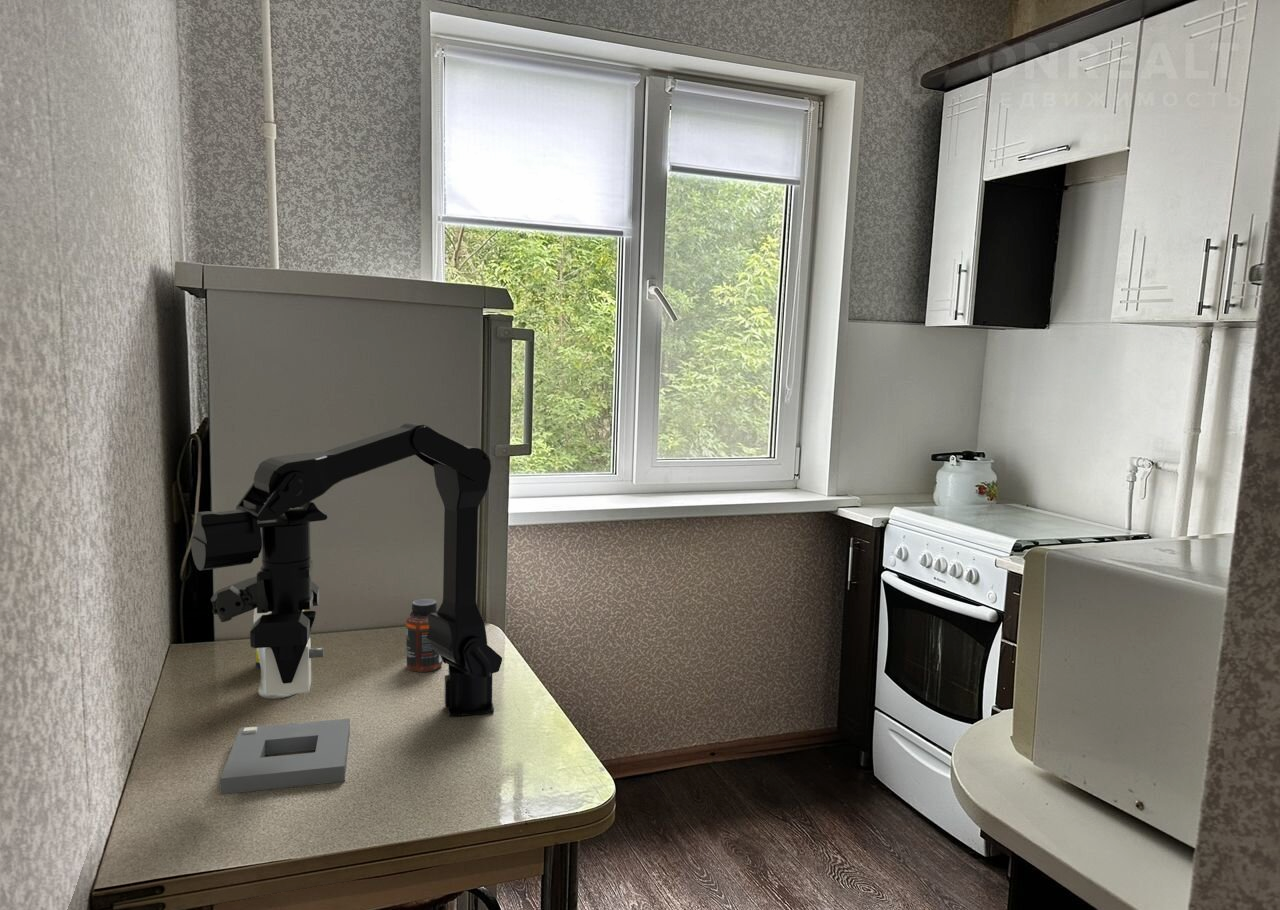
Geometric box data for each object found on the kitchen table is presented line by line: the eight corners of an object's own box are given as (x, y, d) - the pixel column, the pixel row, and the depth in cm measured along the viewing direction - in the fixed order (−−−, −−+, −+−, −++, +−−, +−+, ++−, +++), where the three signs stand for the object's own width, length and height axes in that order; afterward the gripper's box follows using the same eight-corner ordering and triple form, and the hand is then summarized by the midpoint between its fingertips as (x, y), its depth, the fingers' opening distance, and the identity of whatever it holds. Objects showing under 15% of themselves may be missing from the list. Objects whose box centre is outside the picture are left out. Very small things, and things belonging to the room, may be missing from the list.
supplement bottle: (450, 665, 144) (450, 600, 143) (423, 676, 139) (423, 609, 138) (425, 657, 148) (425, 594, 146) (398, 667, 143) (398, 602, 141)
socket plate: (349, 732, 119) (349, 715, 118) (344, 781, 105) (344, 762, 105) (240, 741, 115) (239, 725, 114) (220, 794, 101) (220, 775, 101)
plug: (325, 680, 112) (324, 636, 111) (323, 691, 108) (322, 645, 108) (269, 685, 110) (268, 640, 109) (266, 695, 106) (265, 649, 106)
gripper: (229, 543, 113) (233, 656, 115) (199, 580, 96) (204, 713, 97) (318, 540, 116) (320, 650, 118) (305, 576, 99) (308, 704, 101)
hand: (289, 677), depth 109 cm, fingers closed on plug, 3 cm apart
